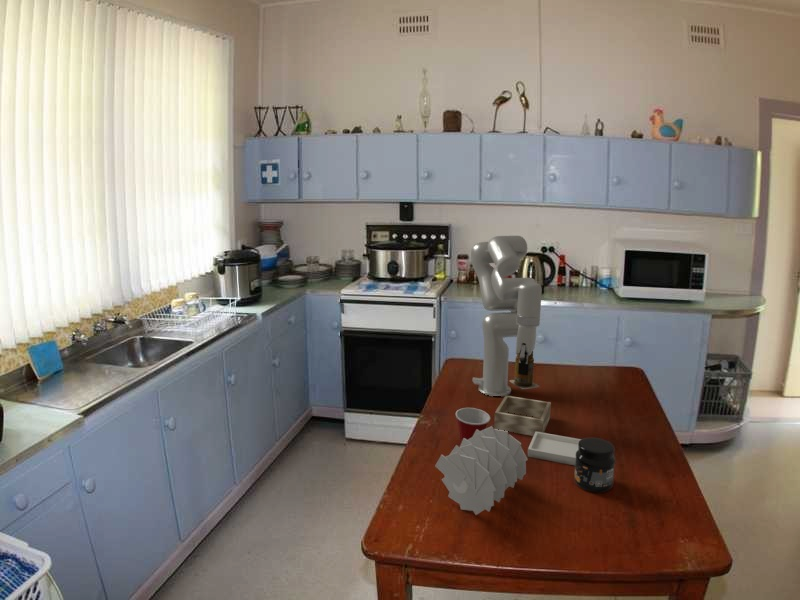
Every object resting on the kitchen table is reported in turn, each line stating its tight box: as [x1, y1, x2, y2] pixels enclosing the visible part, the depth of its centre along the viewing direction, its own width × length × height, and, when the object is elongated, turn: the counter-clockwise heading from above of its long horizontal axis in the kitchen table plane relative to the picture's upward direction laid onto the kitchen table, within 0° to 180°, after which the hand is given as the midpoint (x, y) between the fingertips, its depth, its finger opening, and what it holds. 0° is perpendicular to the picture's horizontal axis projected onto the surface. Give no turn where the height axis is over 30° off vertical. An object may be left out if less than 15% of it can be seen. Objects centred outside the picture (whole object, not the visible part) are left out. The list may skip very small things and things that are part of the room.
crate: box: [493, 395, 552, 437], centre depth 202 cm, size 16×16×6 cm
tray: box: [527, 432, 581, 467], centre depth 182 cm, size 18×13×2 cm
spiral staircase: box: [434, 425, 528, 516], centre depth 157 cm, size 18×18×25 cm
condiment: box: [508, 350, 541, 390], centre depth 197 cm, size 7×8×12 cm
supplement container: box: [573, 437, 616, 494], centre depth 163 cm, size 10×10×12 cm
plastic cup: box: [455, 407, 491, 444], centre depth 183 cm, size 11×11×12 cm
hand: (525, 370), depth 198 cm, fingers closed on condiment, 6 cm apart
